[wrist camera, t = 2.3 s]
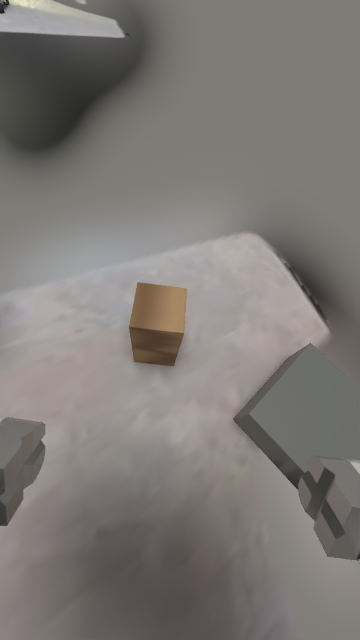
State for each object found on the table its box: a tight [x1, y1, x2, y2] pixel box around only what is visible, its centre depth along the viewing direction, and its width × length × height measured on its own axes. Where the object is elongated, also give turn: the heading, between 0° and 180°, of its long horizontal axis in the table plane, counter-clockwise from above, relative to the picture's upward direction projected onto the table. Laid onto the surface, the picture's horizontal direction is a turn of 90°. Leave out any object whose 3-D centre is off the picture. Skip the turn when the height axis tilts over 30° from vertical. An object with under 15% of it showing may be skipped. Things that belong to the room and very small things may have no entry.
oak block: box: [129, 282, 187, 366], centre depth 28 cm, size 5×5×10 cm
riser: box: [234, 343, 360, 491], centre depth 27 cm, size 12×12×5 cm
